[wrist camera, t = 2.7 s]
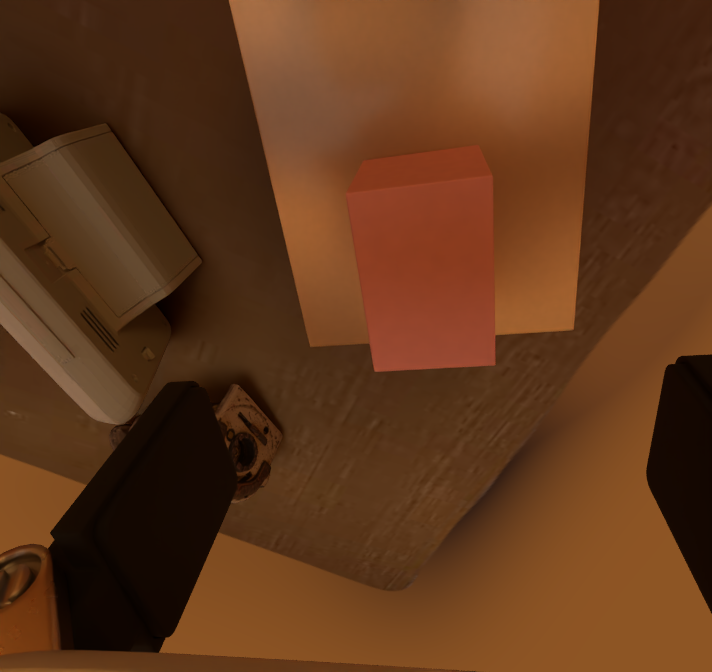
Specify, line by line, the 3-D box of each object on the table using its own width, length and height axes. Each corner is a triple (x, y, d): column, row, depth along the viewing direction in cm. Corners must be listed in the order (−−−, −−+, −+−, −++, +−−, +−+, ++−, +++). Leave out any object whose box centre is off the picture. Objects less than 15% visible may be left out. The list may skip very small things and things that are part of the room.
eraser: (362, 160, 18) (344, 193, 14) (479, 144, 18) (493, 175, 14) (384, 311, 21) (374, 372, 18) (483, 303, 21) (495, 365, 17)
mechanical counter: (278, 542, 34) (255, 465, 28) (98, 538, 35) (31, 461, 28) (290, 453, 40) (274, 369, 33) (134, 450, 40) (85, 367, 33)
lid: (211, -106, 15) (129, -159, 11) (607, -205, 13) (691, -318, 9) (313, 338, 24) (287, 404, 19) (569, 321, 21) (604, 391, 17)
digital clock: (-31, 103, 27) (-265, 136, 18) (106, 49, 24) (-82, 57, 15) (119, 349, 34) (9, 461, 25) (234, 326, 32) (159, 439, 23)
